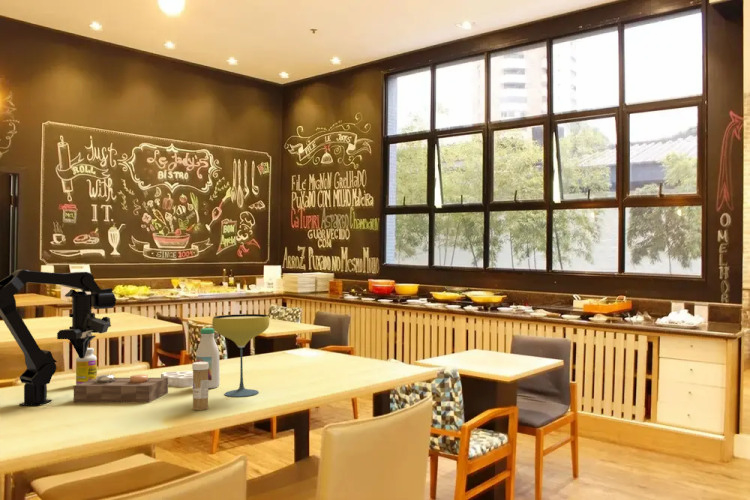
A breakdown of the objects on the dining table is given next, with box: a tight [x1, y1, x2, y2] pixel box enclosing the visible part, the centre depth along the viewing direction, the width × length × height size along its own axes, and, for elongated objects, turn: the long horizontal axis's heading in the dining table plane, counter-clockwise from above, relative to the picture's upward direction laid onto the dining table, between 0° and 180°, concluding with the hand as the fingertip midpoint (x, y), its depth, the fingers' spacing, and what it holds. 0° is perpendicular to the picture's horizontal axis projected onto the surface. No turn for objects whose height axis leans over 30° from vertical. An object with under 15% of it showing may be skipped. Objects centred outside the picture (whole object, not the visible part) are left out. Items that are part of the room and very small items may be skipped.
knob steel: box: [96, 374, 115, 383], centre depth 196 cm, size 5×5×5 cm
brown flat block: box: [73, 377, 169, 403], centre depth 195 cm, size 14×24×5 cm, turn 86°
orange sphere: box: [129, 374, 149, 383], centre depth 195 cm, size 5×5×5 cm
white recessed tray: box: [160, 370, 193, 388], centre depth 220 cm, size 3×18×15 cm
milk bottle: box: [195, 327, 221, 389], centre depth 211 cm, size 8×8×20 cm
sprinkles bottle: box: [191, 361, 209, 411], centre depth 178 cm, size 5×5×13 cm
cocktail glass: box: [211, 313, 270, 398], centre depth 199 cm, size 18×18×25 cm
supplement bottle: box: [75, 347, 98, 385], centre depth 217 cm, size 7×7×13 cm
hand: (82, 358), depth 200 cm, fingers closed
